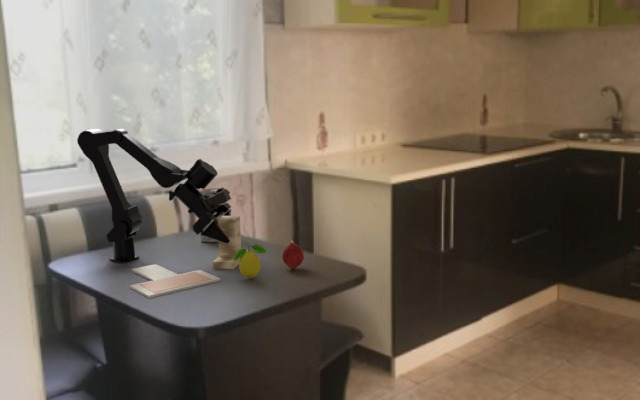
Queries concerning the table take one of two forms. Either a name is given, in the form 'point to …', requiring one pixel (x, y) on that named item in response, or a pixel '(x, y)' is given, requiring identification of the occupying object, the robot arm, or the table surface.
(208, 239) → the coffee box
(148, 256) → the table surface
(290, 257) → the onion
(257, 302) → the table surface
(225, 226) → the birch tee block
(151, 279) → the tee mat
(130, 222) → the robot arm
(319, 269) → the table surface
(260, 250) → the lemon
